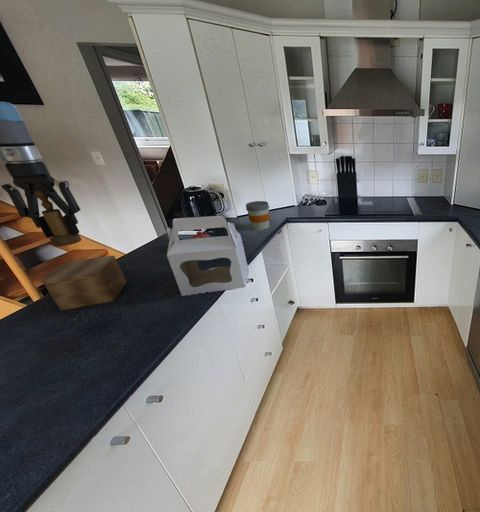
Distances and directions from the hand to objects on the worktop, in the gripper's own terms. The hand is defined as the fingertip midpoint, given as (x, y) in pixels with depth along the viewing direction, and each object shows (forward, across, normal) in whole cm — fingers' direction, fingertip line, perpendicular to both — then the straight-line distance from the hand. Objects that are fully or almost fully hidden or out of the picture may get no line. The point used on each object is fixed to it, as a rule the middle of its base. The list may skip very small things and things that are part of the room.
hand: (63, 234), depth 90 cm
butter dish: (+24, +31, +34) cm, 52 cm away
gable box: (+24, +40, -8) cm, 47 cm away
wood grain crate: (+24, 0, 0) cm, 24 cm away
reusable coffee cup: (+24, +60, +54) cm, 84 cm away
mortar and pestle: (+3, 0, 0) cm, 3 cm away
